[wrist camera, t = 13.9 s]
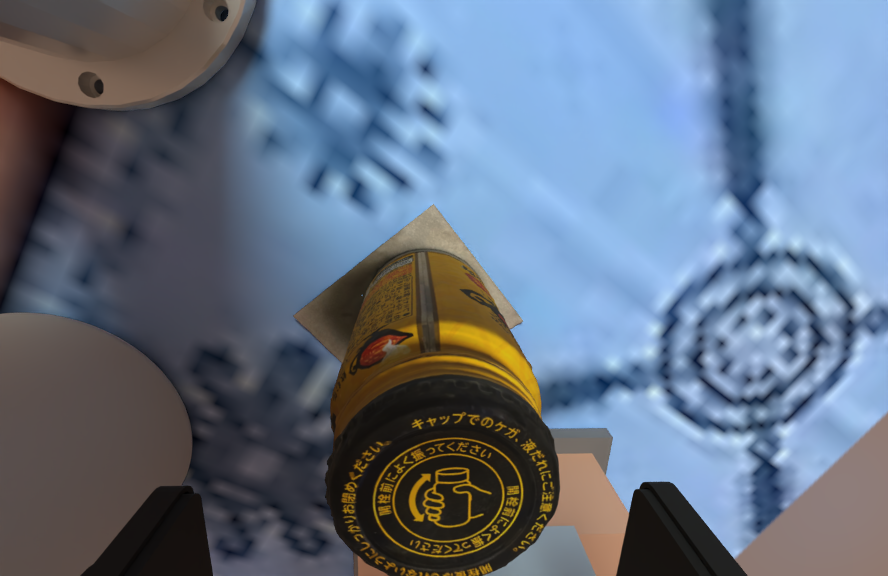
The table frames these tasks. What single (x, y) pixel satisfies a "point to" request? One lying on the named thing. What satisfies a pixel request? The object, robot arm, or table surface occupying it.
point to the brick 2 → (551, 556)
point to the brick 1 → (581, 513)
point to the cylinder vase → (79, 441)
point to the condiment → (432, 411)
